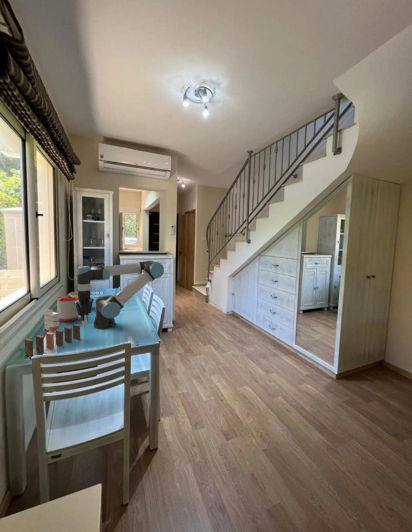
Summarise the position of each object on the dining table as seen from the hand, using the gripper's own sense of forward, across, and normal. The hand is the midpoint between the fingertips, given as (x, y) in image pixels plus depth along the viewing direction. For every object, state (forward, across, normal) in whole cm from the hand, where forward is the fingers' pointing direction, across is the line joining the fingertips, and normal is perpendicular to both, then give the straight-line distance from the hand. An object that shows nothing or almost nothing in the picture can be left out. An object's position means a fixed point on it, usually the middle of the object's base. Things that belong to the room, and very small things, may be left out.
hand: (84, 324), depth 162 cm
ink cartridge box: (+8, +6, -28) cm, 29 cm away
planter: (+8, -33, -53) cm, 63 cm away
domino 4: (+8, +17, 0) cm, 18 cm away
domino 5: (+8, +11, 0) cm, 14 cm away
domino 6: (+8, +6, 0) cm, 9 cm away
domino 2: (+8, +28, 0) cm, 29 cm away
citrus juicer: (+8, -14, -38) cm, 42 cm away
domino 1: (+8, +33, 0) cm, 34 cm away
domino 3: (+8, +22, 0) cm, 24 cm away
